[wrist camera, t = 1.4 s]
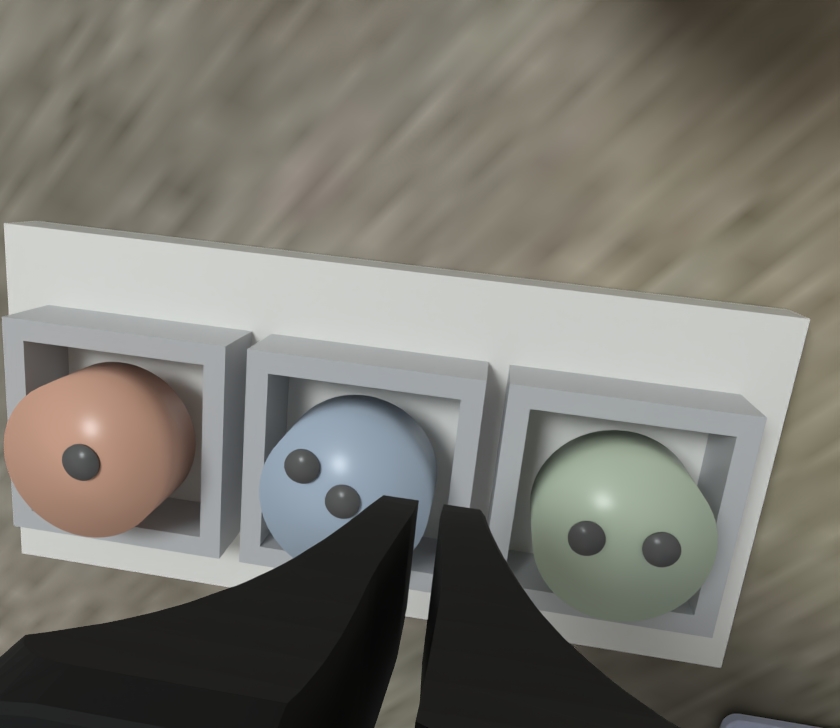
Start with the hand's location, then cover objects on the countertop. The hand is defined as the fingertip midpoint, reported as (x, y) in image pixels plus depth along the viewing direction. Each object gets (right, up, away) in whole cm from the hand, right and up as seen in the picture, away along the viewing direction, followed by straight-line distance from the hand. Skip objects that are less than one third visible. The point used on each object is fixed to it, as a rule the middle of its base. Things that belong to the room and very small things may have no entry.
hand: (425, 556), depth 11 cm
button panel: (-1, +1, +11) cm, 11 cm away
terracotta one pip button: (-9, +1, +8) cm, 12 cm away
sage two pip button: (+5, -1, +7) cm, 9 cm away
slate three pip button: (-2, 0, +8) cm, 8 cm away
